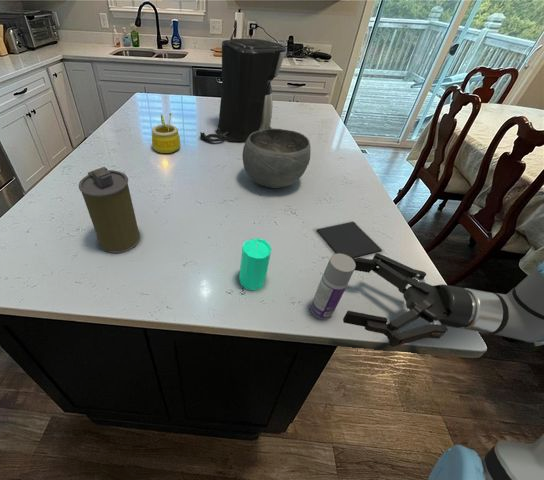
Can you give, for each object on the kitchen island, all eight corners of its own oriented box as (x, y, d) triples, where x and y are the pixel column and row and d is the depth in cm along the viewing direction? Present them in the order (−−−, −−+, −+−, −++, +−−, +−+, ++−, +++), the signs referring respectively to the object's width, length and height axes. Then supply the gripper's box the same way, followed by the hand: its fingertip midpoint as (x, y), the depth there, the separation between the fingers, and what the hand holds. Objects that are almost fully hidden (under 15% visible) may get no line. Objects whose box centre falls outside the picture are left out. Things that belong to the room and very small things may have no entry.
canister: (148, 240, 77) (134, 172, 63) (111, 259, 71) (87, 189, 58) (126, 220, 82) (110, 154, 69) (91, 237, 77) (65, 168, 63)
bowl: (313, 180, 102) (325, 138, 91) (281, 207, 89) (291, 162, 79) (263, 160, 111) (268, 120, 101) (228, 182, 99) (230, 139, 89)
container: (332, 303, 64) (355, 255, 54) (332, 322, 61) (357, 274, 50) (310, 298, 65) (329, 250, 55) (309, 316, 61) (329, 269, 51)
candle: (265, 271, 70) (272, 234, 62) (264, 291, 66) (272, 254, 58) (240, 268, 71) (244, 231, 62) (238, 288, 66) (241, 250, 58)
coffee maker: (281, 130, 133) (296, 41, 110) (240, 155, 113) (248, 54, 90) (240, 117, 142) (246, 33, 119) (196, 138, 123) (193, 43, 100)
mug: (174, 157, 111) (171, 125, 102) (147, 152, 113) (143, 120, 105) (187, 143, 120) (185, 113, 111) (163, 139, 122) (159, 109, 114)
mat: (381, 251, 77) (381, 249, 76) (342, 261, 74) (342, 259, 73) (352, 223, 85) (353, 221, 84) (316, 230, 82) (317, 229, 81)
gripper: (476, 384, 48) (341, 356, 50) (429, 271, 66) (332, 255, 68) (508, 364, 43) (356, 334, 45) (448, 247, 61) (342, 231, 63)
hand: (341, 286), depth 57 cm, fingers open, 13 cm apart
